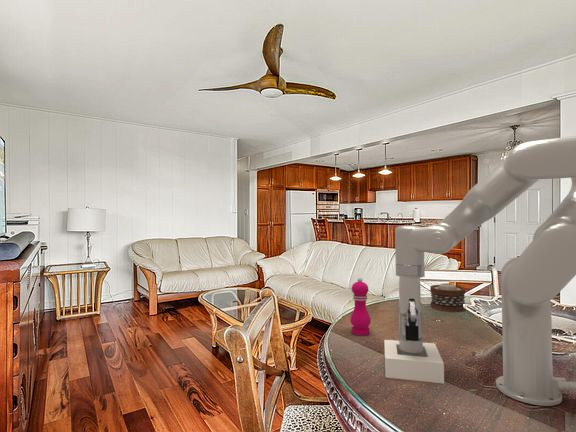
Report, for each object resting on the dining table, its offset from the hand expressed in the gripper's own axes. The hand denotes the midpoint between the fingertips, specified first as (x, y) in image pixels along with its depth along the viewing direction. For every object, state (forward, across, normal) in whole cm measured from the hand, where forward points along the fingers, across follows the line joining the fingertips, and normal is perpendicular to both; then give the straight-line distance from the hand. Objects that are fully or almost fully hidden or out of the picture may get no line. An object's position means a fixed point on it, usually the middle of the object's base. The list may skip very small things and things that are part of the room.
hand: (410, 335), depth 92 cm
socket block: (+9, 0, 0) cm, 9 cm away
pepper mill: (+9, -27, -15) cm, 32 cm away
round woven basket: (+9, -70, +22) cm, 74 cm away
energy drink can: (+5, 0, 0) cm, 5 cm away
